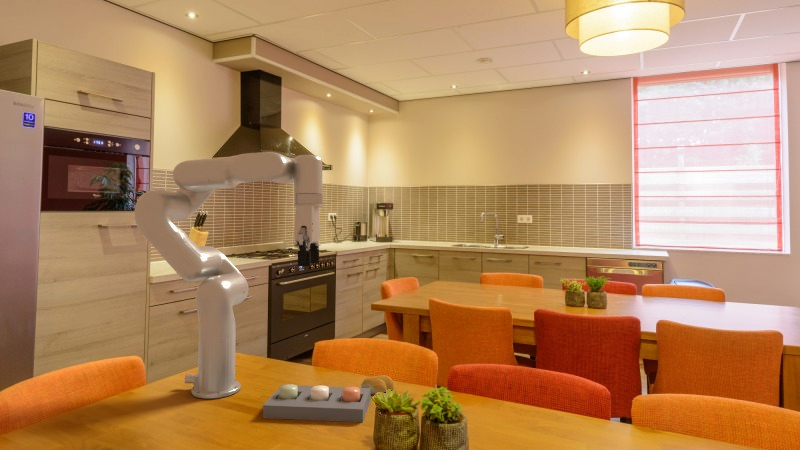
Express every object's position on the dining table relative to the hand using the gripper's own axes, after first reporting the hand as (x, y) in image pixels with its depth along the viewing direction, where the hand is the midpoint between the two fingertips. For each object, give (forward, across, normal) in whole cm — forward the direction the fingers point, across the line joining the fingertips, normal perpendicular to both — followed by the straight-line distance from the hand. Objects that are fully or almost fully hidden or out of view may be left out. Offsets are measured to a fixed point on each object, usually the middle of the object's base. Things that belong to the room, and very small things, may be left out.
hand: (308, 264), depth 125 cm
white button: (+34, +8, +5) cm, 35 cm away
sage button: (+34, +8, -3) cm, 35 cm away
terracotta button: (+34, +8, +13) cm, 37 cm away
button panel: (+35, +8, +5) cm, 37 cm away
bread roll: (+36, -6, +18) cm, 41 cm away
